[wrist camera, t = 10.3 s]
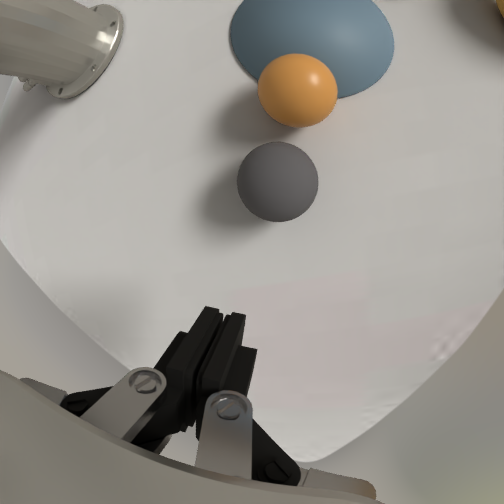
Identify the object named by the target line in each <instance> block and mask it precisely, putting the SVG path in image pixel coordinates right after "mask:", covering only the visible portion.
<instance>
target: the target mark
mask: <svg viewBox="0 0 504 504" xmlns="http://www.w3.org/2000/svg"><path fill="white" fill-rule="evenodd" d="M231 41H232V46H233V49H234V52H235V54H236V56H237V57H238V59H239V61H240V62H241V64H242V65H243V66H244V68H245V69H246V70H247V71H248V72H249V73H250V74H251V75H252V76H254V77H255V78H256V79H258V80H259V78H260V75H261V73H262V71H263V70H264V68H265V67H266V66H267V65H268V64H269V63H270V62H271V61H273V60H274V59H276V58H278V57H280V56H283V55H287V54H295V53H296V54H305V55H309V56H312V57H314V58H316V59H318V60H319V61H321V62H322V63H324V64H325V65H326V66H327V67H328V68H329V70H330V71H331V72H332V74H333V76H334V78H335V80H336V84H337V90H338V94H337V98H342V97H347V96H350V95H353V94H356V93H359V92H361V91H363V90H365V89H367V88H368V87H370V86H372V85H373V84H374V83H376V82H377V81H378V80H379V79H380V78H381V77H382V76H383V74H384V73H385V72H386V71H387V69H388V67H389V65H390V63H391V60H392V57H393V52H394V38H393V33H392V30H391V27H390V25H389V23H388V21H387V19H386V17H385V16H384V14H383V13H382V11H381V10H380V9H379V8H378V7H377V6H376V5H375V3H374V2H372V1H371V0H244V1H243V2H242V4H241V5H240V6H239V8H238V9H237V11H236V13H235V15H234V18H233V20H232V25H231Z"/></svg>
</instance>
